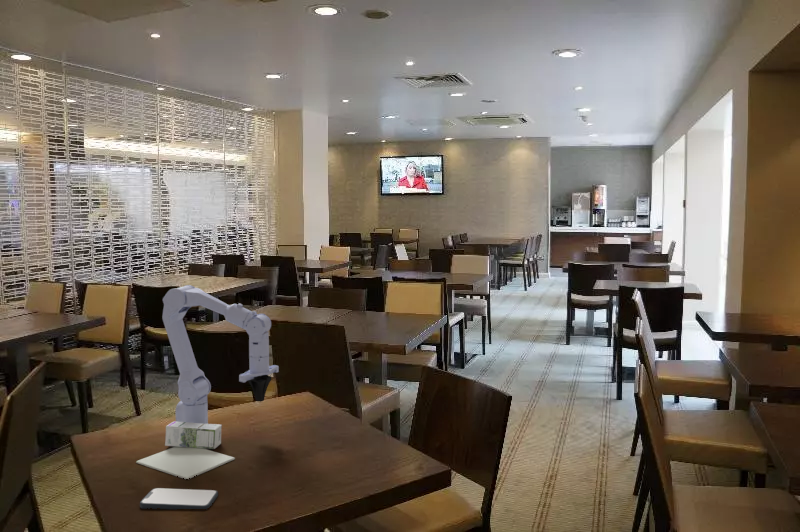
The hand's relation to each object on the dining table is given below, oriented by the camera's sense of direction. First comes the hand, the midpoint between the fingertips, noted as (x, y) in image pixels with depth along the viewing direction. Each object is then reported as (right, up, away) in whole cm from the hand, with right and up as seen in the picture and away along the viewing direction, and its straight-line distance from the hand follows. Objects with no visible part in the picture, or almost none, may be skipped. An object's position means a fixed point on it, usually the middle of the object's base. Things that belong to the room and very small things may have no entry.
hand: (259, 400), depth 199 cm
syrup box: (-9, -8, -10) cm, 16 cm away
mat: (-16, -12, -20) cm, 28 cm away
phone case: (-9, -15, -44) cm, 47 cm away
